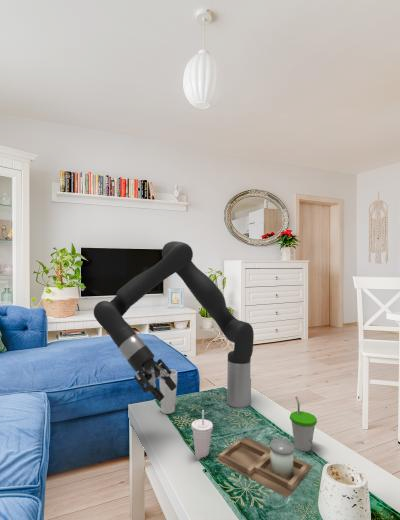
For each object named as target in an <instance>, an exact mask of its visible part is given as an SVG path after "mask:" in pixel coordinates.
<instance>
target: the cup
mask: <svg viewBox="0 0 400 520" xmlns="http://www.w3.org/2000/svg"><path fill="white" fill-rule="evenodd" d="M295 400H296V403H297V411H293V412H291V413H290V414H289V419H290V421H291V427H292V435H293V442H294V443H293V445H294V449H296V450H298V451H301V452H303V453H304V452H305V453H306V452H309V451H312V450H311V449H312V445H313V440H314V433H315V427H316V425H317V423H318V421H317V420H318V419H317V417H316V416H315V415H314V414H312V413H310V412H307V411H301V410H300V408H301V406H300V401H299V398H298V396H297V395H296V396H295Z"/></svg>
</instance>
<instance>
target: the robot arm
mask: <svg viewBox="0 0 400 520" xmlns="http://www.w3.org/2000/svg"><path fill="white" fill-rule="evenodd" d="M193 252H194V251H193V248H192V247H191V246H190V245H189V244H188V243H185V242H182V241H174V240H173V241H169V242H166V243H165V244H164V246H163V247H162V249H161V256H162V259H160V261H158V262H157V263H156V264H154V265H153V266H151V267H150V268H149V269H147V270H145V271H143V272H141V273H140V274H138V275H136V276H134V277H133V278H132V279H130V280H129V281H128V282H127V283H126V284H124V285H123V286H122V287H120V288H119V289H118V290H117V292H116V295H115V296H114V298H113V299H111V300H110V301H108V300H102V301H99V302H97V303H96V304H95V306H94V308H93V316H94V318H95V320H96V321H97V322H98V325H100V326H101V327H102V328H103V329H104V330H105V331H106V333H107V334H108V335H109V337H110V338H111V340H112V341H113V343H114V344H115V345H116V347H117V348H118V349H119V351H120V352H121V355H122V356H123V357H124V359H125V360H126V362H127V363H129V365H130V366H131V368H132V369H133V371H134V372H137V373H136V374H134V376H133V378H134V379H135V381H136V382H137V384H138V385H139V387H140V388H141V389H142V391H143V392H144V393H145V394H146V393H147V392H148V393H151V394H152V395H153V397H154V398H155V399H156V401H157V402H160V403H161V400H162V399H163V398H164V395H163V394H162V393H161V391H160V388H158V386H157V385H156V380H157V379H158V380H159V379H162V380H163V381H165V383H166V385H167V386H168V387H169V388H170V390H171V391H173V390H174V389H175V388H176V387H177V388H178V385H177V386H176V384H175V383H174V382H173V380H172V379H171V378H170V374H171V371H170V369H171V368H169V367H168V366H167V365H166V363H165V362H164V361H163V360H162V358H159V359H157V361H155V360H154V358H155V354H154V352H152V350H151V349H150V348H149V346H147V343H145V341H144V340H143V339H142V337H140V336H139V335H138V333H137V332H136V331H135V329H133V327H132V326H131V325H130V324H129V323H128V322H127V321H126V320H125V319H124V317H123V316H124V315H125V314H126V313H127V312H128V311H129V309H130V308H131V307H132V306H133V305H135V304H136V303H137V302H139V300H141V299H142V298H143V297H144V296H146V295H147V294H148V293H149V292H150V291H151V290H152V289H154V288H155V287H156V286H158V285H159V284H160V283H162V282H163V281H165V280H166V279H168V278H169V277H171V276H172V275H173V274H177V276H178V277H179V278H181V280H182V281H183V282H184V284H185V285H186V287H187V288H188V290H189V291H190V292H191V294H192V295H193V297H194V298H195V300H196V301H197V302H198V303H199V304H200V306H202V307H203V309H204V310H205V311H206V313H207V314H208V315H209V316H210V317H211V318H212V320H214V321H215V323H216V324H217V326H218V328H219V329H220V331H221V332H222V334H223V335H224V337H225V338H226V339H227V340H228V341H230V342H231V343H234V345H233V346H234V348H233V350H231V351H229V352H228V354H227V373H226V374H227V377H226V378H227V382H226V383H227V385H226V386H227V388H226V389H227V390H226V391H227V392H226V394H227V395H226V403H227V404H228V405H229V406H231V407H233V408H237V409H239V408H240V409H243V408H247V407H249V406H250V404H251V402H252V378H251V362H252V359H251V358H252V355H253V351H254V339H255V338H254V336H255V335H254V327H253V326H252V325H251V323H249V322H247V321H243V320H241V319H237V318H236V317H235V316H234V315H233V314H232V312H230V310H229V309H228V307H227V304H226V298H225V295H224V293H223V292H222V291H221V289H219V287H218V286H217V285H216V284H215V282H214V281H213V280H212V279H211V278H210V277H209V276H207V275H206V274H205V273H204V272H203V271H201V270H200V269H199V268H198V267H197V266H196V265H195V263H194V262H193V257H194V254H193ZM165 370H166V371H167V372H165ZM163 375H164V376H163Z"/></svg>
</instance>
